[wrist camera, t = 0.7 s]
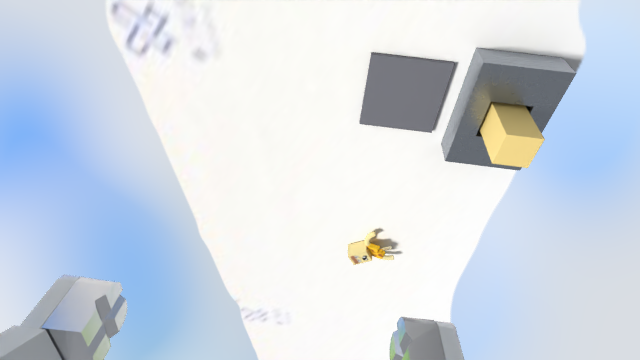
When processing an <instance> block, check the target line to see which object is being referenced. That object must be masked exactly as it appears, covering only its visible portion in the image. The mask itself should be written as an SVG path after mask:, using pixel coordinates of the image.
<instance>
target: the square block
mask: <svg viewBox="0 0 640 360" xmlns="http://www.w3.org/2000/svg"><path fill="white" fill-rule="evenodd" d="M479 129H480V132H481V135H482V137H483V140H484V143H485V146H486V148H487V151H488V154H489V156H490V159H491V162H492V164H500V165H508V166H516V167H525V168H528V167H529V165H530V163H531V161H532V160H533V158H534V156H535V155H536V153H537V151H538V150H539V148H540V146H541V145H542V143H543V141H544V140H545V139H544V137H543V136H542V134H541V132H540V130H539V129H538V127H537V125H536V123H535V122H534V120H533V118H532V117H531V115H530V113H529V111H528V110H527V108H526V106H525V105H517V104H508V103H500V102H490V104H489V107H488V109H487V111H486V114H485V116H484V118H483V120H482V123H481V125H480V127H479Z"/></svg>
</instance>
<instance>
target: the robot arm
mask: <svg viewBox="0 0 640 360" xmlns="http://www.w3.org/2000/svg"><path fill="white" fill-rule="evenodd" d="M122 290H123V289H122V286H121V284H120V282H115V281H107V280H99V279H92V278H85V277H79V276H71V275H63V276H61V277H60V278H58V279H57V280H56V281H55V283H54V284H53V285H52V286H51V288H50V289H49V290H48V291H47V293H46V294H45V295H44V296H43V298H42V299H41V300H40V301H39V303H38V304H37V305H36V307H35V308H34V309H33V310H32V311H31V313H30V314H29V315H28V316H27V317H26V319H25V320H24V321H23V323H22V324H21V325H20V326H12V327H11V328H9V329H7V330H6V331H4V332H2V333H0V360H104V358H105V356H106V354H107V353H108V351H109V349H110V347H111V345H110V339H109V338H111V337H112V336H114V335H115V334H116V333H118V332H119V331H120V329H121V327H122V324H123V323H124V320H125V317H126V313H127V303H126V299H125V298H123V297H122V296H121V295H120V293H121V292H122ZM397 327H398V330H397V331H395V332H393V335H392V338H391V343H390V360H464V357H463V353H462V350H461V346H460V342H459V339H458V335H457V331H456V328H455V326H454V325H453V324H452V323H448V322H438V321H434V320H425V319H416V318H407V317H401V318H400V319H399V321H398V323H397Z"/></svg>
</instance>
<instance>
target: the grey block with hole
mask: <svg viewBox="0 0 640 360" xmlns="http://www.w3.org/2000/svg"><path fill="white" fill-rule="evenodd" d="M575 75H576V72H575V71H574V70H573V69H572V68H571V67H570V66H569V65H568V63H567V62H566V61H565V60H564V59H563V58H560V57H552V56H543V55H534V54H525V53H517V52H508V51H499V50H491V49H482V48H476V50H475V52H474V55H473V58H472V61H471V63H470V66H469V69H468V72H467V74H466V77H465V80H464V83H463V85H462V88H461V91H460V93H459V96H458V99H457V102H456V104H455V107H454V110H453V113H452V115H451V118H450V121H449V124H448V126H447V129H446V132H445V135H444V137H443V140H442V143H441V145H442V149H443V154H444V158H445V161H448V162H456V163H464V164H472V165H480V166H488V167H496V168H504V169H512V170H520V169H521V168H522V167H516V166H508V165H500V164H492V162H491V159H490V156H489V154H488V151H487V148H486V146H485V143H484V140H483V137H482V135H481V132H480V129H479V127H480V125H481V123H482V120H483V118H484V116H485V114H486V111H487V109H488V107H489V104H490V102H500V103H508V104H517V105H525V106H526V108H527V110H528V111H529V113H530V115H531V117H532V118H533V120H534V122H535V123H536V125H537V127H538V129H539V130H540V132H541V133H542V131H543V130H544V128H545V126H546V125H547V123H548V121H549V119H550V118H551V116H552V114H553V112H554V111H555V109H556V107H557V106H558V104H559V102H560V101H561V99H562V97H563V95H564V94H565V92H566V90H567V88H568V87H569V85H570V83H571V82H572V80H573V78H574V76H575Z"/></svg>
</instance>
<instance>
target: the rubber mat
mask: <svg viewBox="0 0 640 360" xmlns="http://www.w3.org/2000/svg"><path fill="white" fill-rule="evenodd" d="M453 67H454V62H449V61H440V60H432V59H423V58H415V57H406V56H398V55H389V54H380V53H371V58H370V64H369V70H368V76H367V82H366V88H365V93H364V99H363V105H362V111H361V117H360V124H365V125H373V126H381V127H389V128H398V129H406V130H414V131H422V132H430V133H432V130H433V127H434V124H435V121H436V118H437V115H438V112H439V109H440V106H441V103H442V100H443V97H444V94H445V91H446V88H447V85H448V82H449V79H450V76H451V73H452V70H453Z"/></svg>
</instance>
